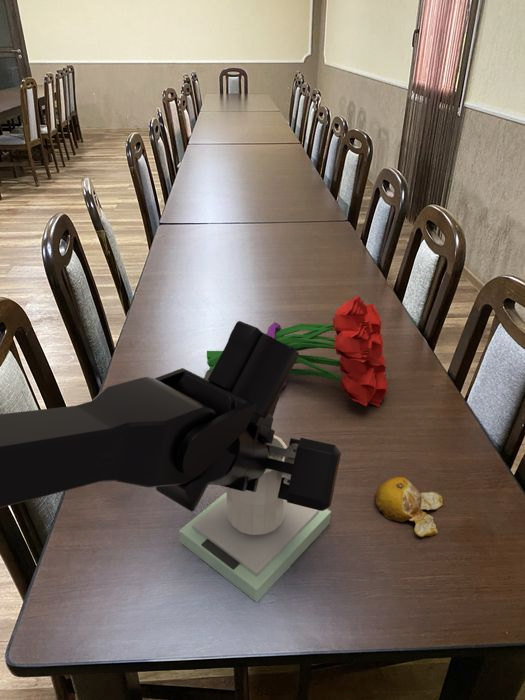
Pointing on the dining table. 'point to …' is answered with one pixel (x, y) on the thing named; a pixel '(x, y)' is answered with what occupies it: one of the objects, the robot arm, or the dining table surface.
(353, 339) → the bouquet
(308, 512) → the scale
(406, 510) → the fruit
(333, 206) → the dining table surface
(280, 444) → the cream faceted cup
